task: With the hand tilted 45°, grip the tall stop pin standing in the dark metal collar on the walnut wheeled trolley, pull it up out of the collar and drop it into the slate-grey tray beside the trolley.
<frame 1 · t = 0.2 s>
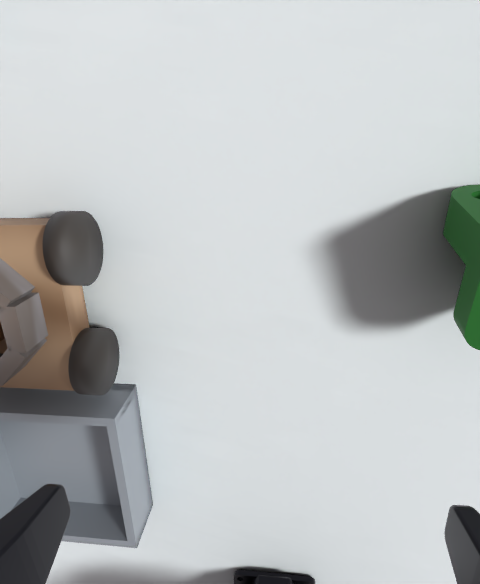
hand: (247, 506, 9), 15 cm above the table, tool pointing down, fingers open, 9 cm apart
trolley: (18, 293, 25), on the table
tray: (73, 444, 29), on the table
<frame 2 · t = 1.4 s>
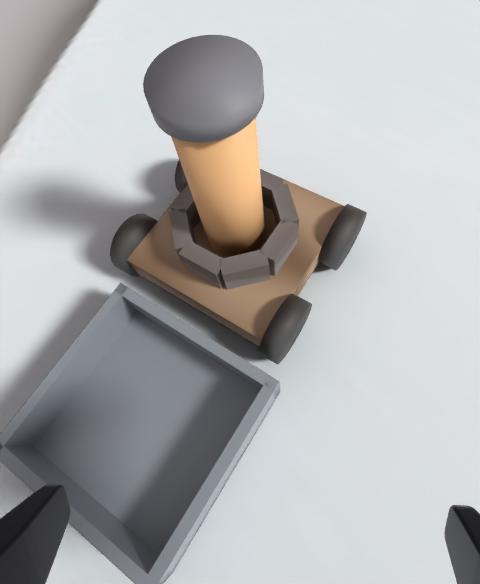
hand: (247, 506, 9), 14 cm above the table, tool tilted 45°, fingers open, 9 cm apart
trolley: (241, 256, 27), on the table
tray: (153, 421, 23), on the table
stop pin: (236, 233, 24), point 3 cm above the table, touching trolley
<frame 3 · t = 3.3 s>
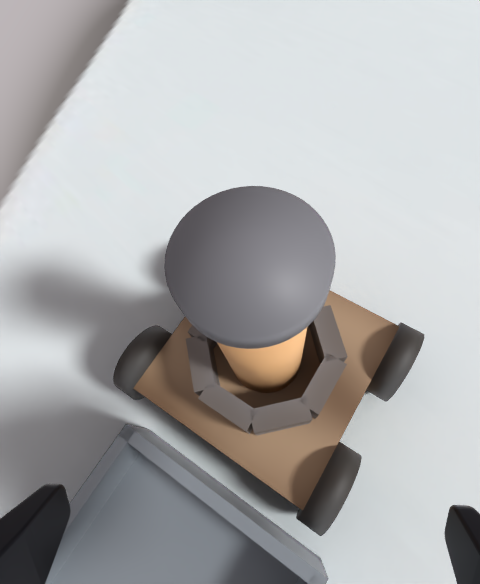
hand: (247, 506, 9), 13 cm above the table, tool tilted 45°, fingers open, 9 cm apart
trolley: (267, 369, 23), on the table
stop pin: (265, 357, 20), point 3 cm above the table, touching trolley
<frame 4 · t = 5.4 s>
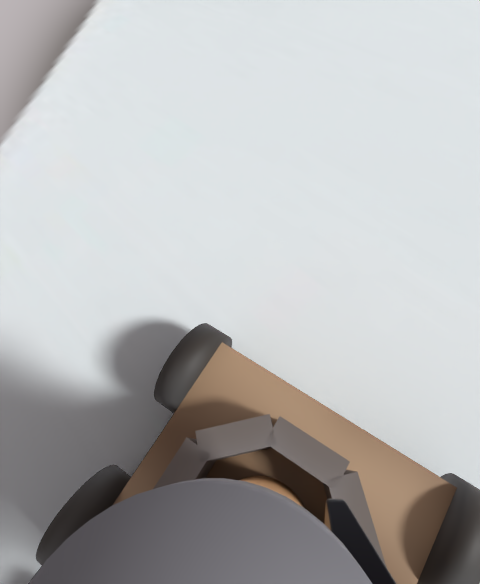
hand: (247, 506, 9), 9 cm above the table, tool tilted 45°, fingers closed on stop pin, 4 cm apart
trolley: (263, 519, 16), on the table
stop pin: (259, 532, 14), point 3 cm above the table, touching gripper, trolley
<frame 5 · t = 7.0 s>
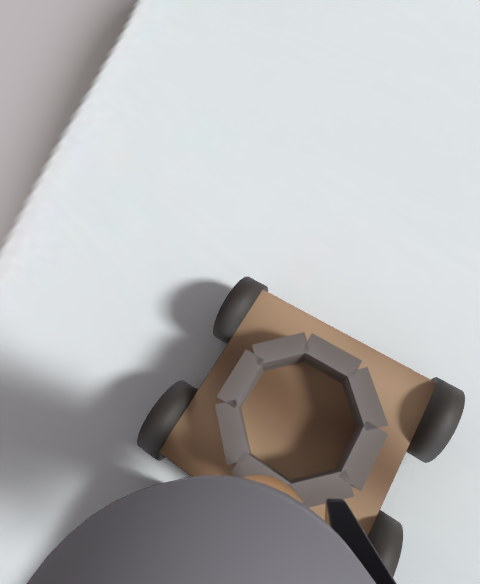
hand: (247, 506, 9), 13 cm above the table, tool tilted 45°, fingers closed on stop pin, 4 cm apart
trolley: (295, 421, 22), on the table
stop pin: (259, 531, 14), point 7 cm above the table, touching gripper
when the fingers open (9 cm above the table, at t = 8.5 s): stop pin drops 3 cm, resting on tray.
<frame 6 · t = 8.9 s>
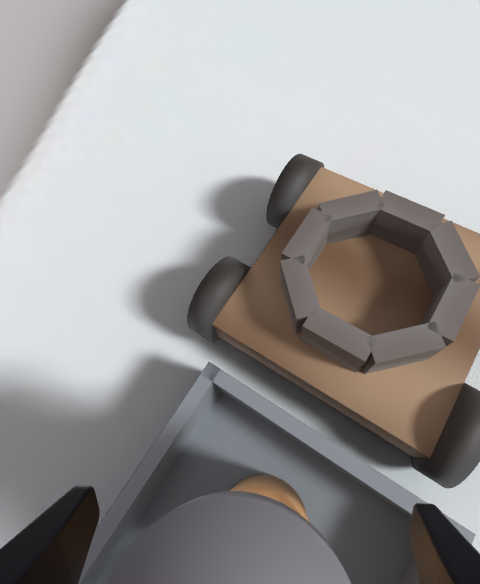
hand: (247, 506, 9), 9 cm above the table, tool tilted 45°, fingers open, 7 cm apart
trolley: (355, 311, 20), on the table
tray: (255, 559, 16), on the table
stop pin: (263, 522, 16), point 1 cm above the table, touching tray
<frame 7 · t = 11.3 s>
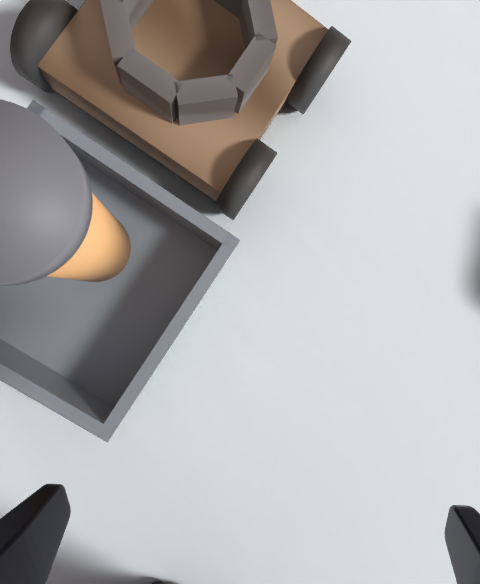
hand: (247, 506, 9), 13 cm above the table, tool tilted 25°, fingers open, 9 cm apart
trolley: (190, 81, 21), on the table
tray: (90, 276, 21), on the table
stop pin: (95, 247, 20), point 1 cm above the table, touching tray
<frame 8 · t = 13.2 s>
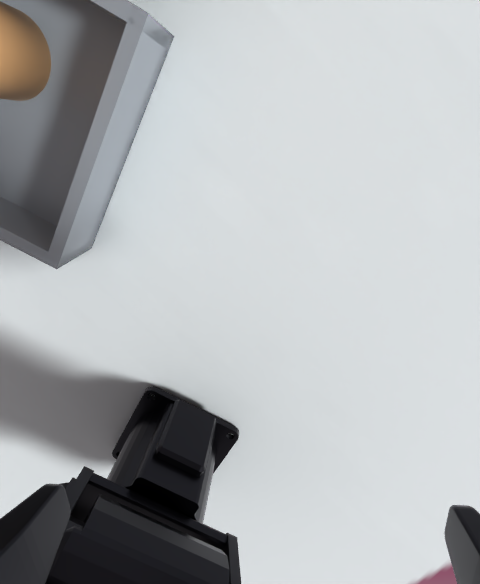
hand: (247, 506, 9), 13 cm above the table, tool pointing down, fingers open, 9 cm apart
tray: (23, 95, 18), on the table
stop pin: (11, 55, 17), point 1 cm above the table, touching tray
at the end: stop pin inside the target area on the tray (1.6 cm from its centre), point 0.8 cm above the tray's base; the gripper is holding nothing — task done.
